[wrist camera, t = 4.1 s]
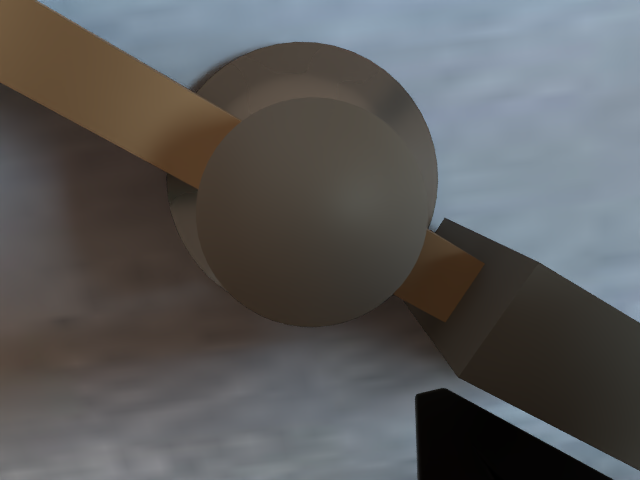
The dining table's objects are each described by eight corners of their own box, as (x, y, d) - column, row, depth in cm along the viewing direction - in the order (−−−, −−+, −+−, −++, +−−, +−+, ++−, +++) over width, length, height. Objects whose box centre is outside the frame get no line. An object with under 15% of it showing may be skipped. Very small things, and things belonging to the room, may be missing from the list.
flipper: (652, 317, 10) (919, 444, 6) (579, 411, 10) (773, 592, 6) (-350, -294, 6) (-1704, -1218, 2) (-389, -101, 7) (-1542, -518, 2)
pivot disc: (446, 283, 10) (450, 287, 10) (208, 330, 10) (205, 336, 9) (416, 22, 8) (420, 17, 8) (137, 73, 8) (131, 70, 8)
